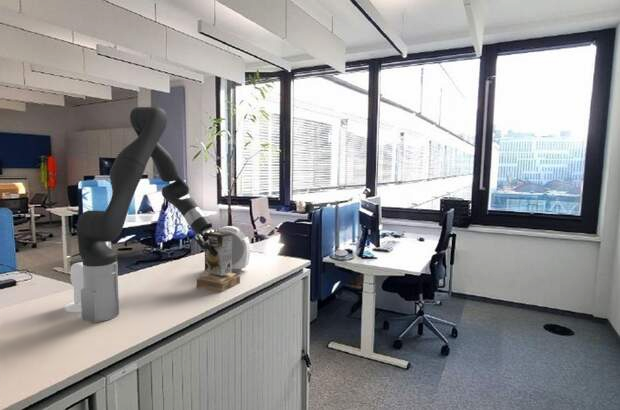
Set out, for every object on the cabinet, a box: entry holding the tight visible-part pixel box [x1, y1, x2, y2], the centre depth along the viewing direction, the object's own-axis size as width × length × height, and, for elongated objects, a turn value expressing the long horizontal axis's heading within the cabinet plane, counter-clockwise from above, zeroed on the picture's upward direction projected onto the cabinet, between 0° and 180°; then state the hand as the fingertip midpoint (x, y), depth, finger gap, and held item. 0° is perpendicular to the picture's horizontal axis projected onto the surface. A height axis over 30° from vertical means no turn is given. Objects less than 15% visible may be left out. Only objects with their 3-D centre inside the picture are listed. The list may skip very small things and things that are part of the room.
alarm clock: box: [219, 225, 251, 274], centre depth 162 cm, size 18×8×20 cm, turn 84°
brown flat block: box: [196, 272, 241, 293], centre depth 143 cm, size 12×12×4 cm
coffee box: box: [204, 229, 233, 276], centre depth 142 cm, size 9×6×16 cm
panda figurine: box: [64, 258, 84, 314], centre depth 119 cm, size 12×11×15 cm
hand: (221, 253), depth 141 cm, fingers closed on coffee box, 6 cm apart
